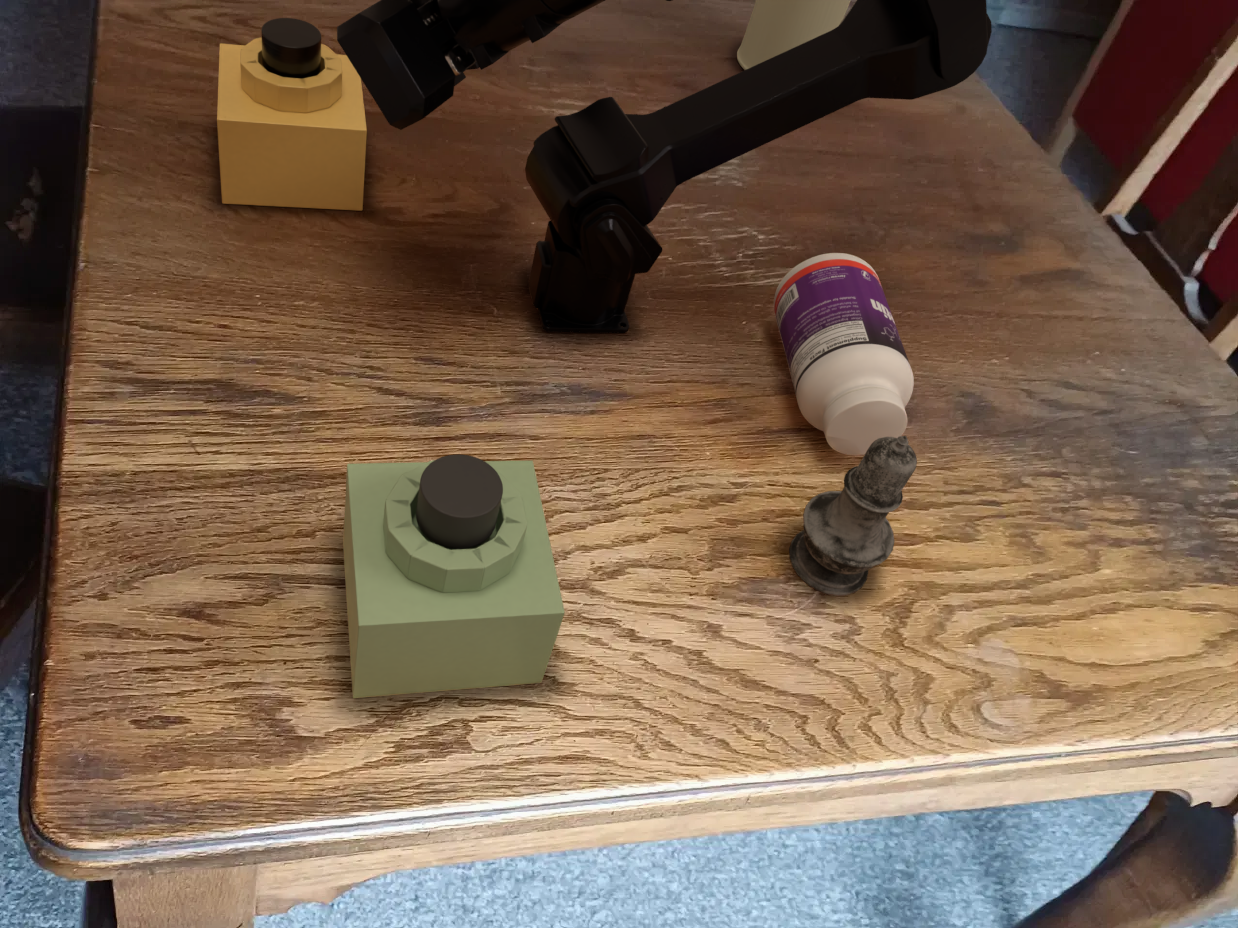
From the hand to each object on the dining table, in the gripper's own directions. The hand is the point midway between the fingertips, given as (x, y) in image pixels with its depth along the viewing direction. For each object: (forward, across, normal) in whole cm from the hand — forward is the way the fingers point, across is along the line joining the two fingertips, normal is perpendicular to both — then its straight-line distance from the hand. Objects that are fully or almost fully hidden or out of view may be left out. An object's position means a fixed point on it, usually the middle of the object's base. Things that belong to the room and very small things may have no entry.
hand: (372, 69), depth 70 cm
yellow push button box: (+16, -4, +3) cm, 17 cm away
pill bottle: (-16, -13, +29) cm, 36 cm away
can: (-2, -51, +22) cm, 56 cm away
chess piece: (-19, +8, +38) cm, 43 cm away
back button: (+10, -4, -3) cm, 11 cm away
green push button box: (-6, +25, +25) cm, 36 cm away
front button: (-12, +25, +19) cm, 33 cm away
